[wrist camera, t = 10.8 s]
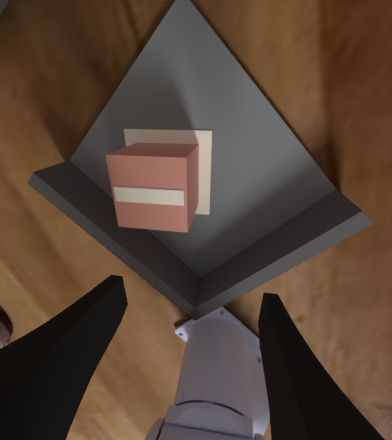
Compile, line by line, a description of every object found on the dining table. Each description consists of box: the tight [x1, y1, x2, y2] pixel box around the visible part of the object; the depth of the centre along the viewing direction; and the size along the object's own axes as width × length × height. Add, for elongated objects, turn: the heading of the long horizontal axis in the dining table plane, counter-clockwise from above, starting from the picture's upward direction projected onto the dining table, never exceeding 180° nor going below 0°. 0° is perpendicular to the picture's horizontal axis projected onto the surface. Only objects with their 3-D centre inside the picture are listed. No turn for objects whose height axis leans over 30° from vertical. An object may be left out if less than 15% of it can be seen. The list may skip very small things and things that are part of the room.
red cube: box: [106, 143, 199, 233], centre depth 16 cm, size 5×5×5 cm
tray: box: [27, 0, 372, 321], centre depth 17 cm, size 18×16×5 cm
